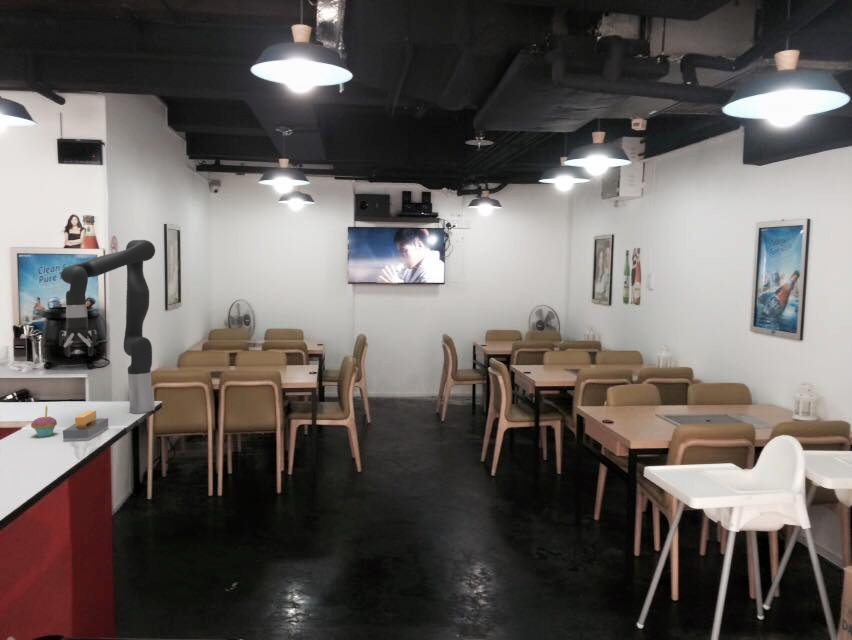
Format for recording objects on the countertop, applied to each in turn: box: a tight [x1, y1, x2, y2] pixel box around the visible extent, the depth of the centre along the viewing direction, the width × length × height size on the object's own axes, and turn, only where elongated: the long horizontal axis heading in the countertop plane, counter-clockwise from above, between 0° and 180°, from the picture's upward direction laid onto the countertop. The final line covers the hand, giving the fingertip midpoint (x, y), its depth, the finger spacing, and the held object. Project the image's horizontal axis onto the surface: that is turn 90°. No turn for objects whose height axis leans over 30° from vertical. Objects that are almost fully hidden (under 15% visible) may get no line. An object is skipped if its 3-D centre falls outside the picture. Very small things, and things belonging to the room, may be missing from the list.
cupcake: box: [30, 404, 58, 438], centre depth 253 cm, size 9×8×12 cm
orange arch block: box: [74, 410, 97, 428], centre depth 253 cm, size 11×3×7 cm, turn 4°
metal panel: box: [62, 418, 109, 442], centre depth 254 cm, size 18×9×4 cm, turn 4°
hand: (79, 356), depth 267 cm, fingers open, 8 cm apart
